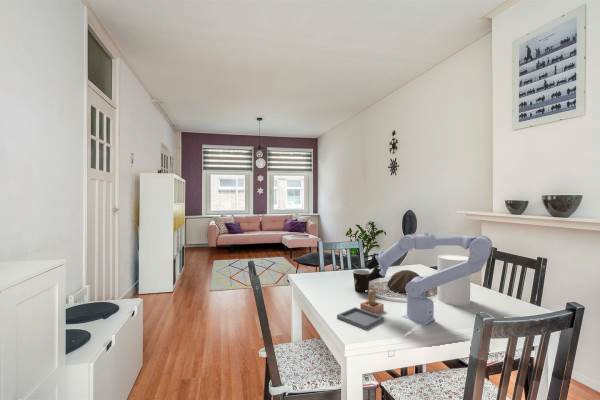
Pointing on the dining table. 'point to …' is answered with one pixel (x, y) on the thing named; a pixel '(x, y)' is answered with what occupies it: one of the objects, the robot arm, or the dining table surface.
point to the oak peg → (371, 298)
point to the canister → (453, 282)
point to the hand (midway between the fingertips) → (368, 273)
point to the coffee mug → (361, 280)
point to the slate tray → (360, 318)
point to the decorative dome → (401, 280)
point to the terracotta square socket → (375, 309)
